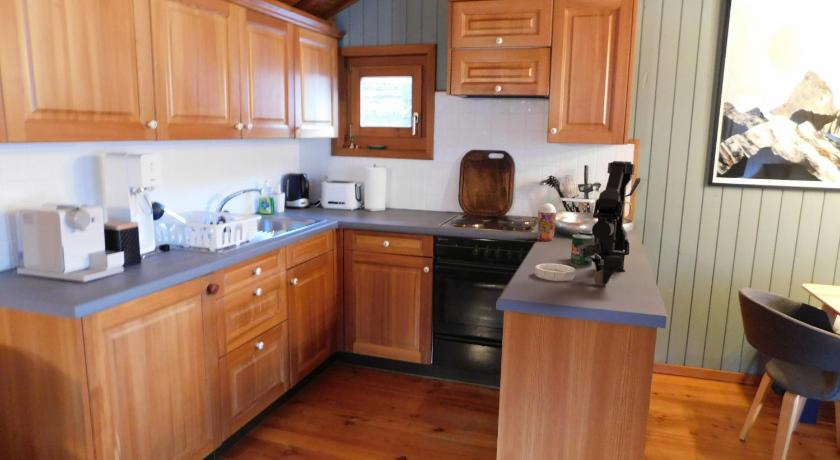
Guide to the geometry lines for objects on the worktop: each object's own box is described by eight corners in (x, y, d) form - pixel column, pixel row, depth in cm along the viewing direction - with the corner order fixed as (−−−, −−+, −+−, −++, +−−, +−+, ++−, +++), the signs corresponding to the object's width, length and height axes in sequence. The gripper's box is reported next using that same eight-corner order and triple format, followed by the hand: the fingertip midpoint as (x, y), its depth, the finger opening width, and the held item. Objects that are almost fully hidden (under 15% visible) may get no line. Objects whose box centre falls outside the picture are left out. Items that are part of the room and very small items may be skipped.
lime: (609, 287, 187) (610, 272, 186) (593, 285, 188) (595, 270, 187) (608, 284, 191) (610, 269, 190) (593, 282, 192) (594, 268, 191)
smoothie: (535, 241, 265) (538, 197, 262) (536, 238, 273) (539, 196, 270) (554, 242, 263) (557, 198, 260) (554, 239, 271) (557, 197, 268)
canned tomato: (594, 264, 220) (596, 236, 219) (588, 268, 214) (591, 238, 212) (573, 261, 224) (575, 233, 222) (567, 265, 218) (569, 236, 216)
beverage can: (579, 257, 233) (582, 227, 231) (593, 259, 229) (595, 229, 227) (573, 259, 229) (576, 229, 227) (587, 261, 225) (590, 231, 223)
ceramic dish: (568, 272, 205) (568, 264, 205) (578, 281, 193) (579, 272, 192) (532, 271, 205) (532, 263, 205) (540, 280, 192) (540, 271, 192)
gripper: (573, 229, 196) (569, 274, 198) (590, 239, 177) (586, 288, 180) (605, 230, 196) (601, 275, 198) (626, 240, 177) (621, 289, 180)
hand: (601, 282), depth 189 cm, fingers closed on lime, 5 cm apart
